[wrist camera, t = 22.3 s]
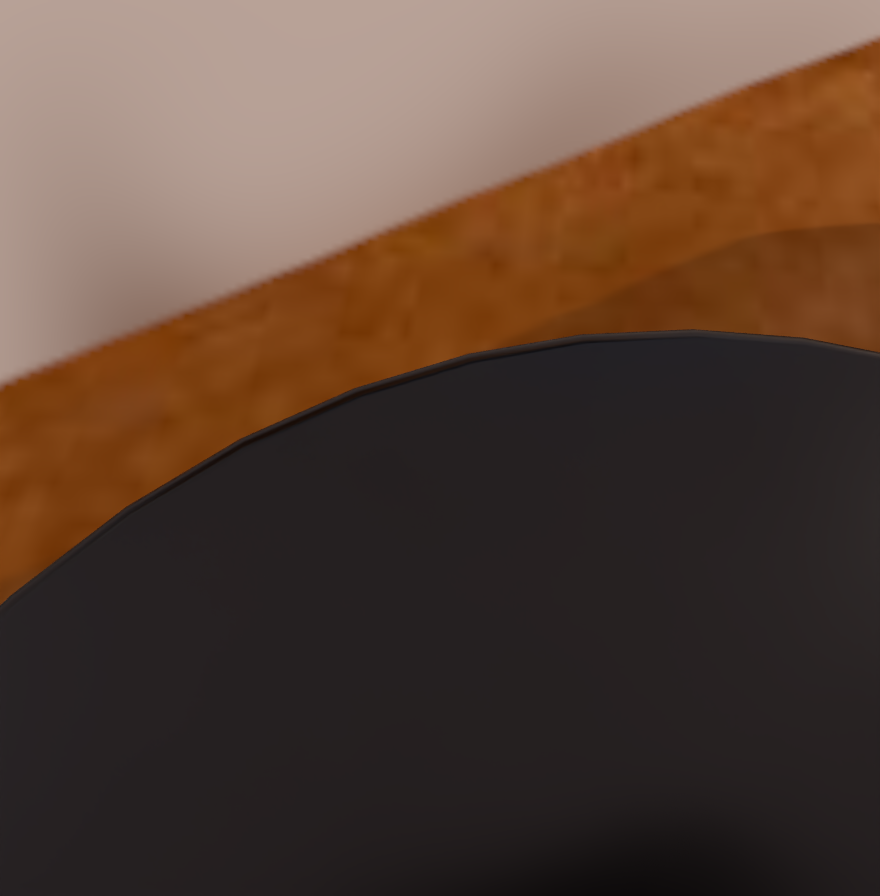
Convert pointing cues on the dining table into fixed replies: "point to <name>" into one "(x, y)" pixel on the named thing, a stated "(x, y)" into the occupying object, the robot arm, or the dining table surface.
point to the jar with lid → (476, 642)
